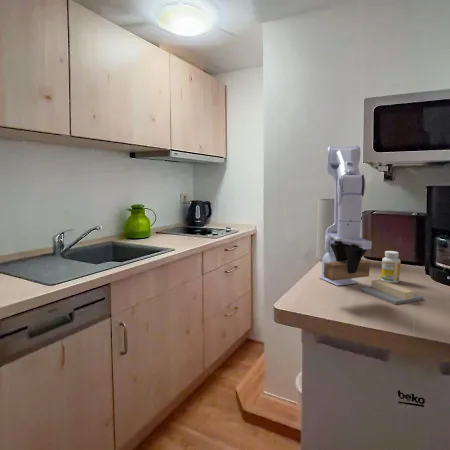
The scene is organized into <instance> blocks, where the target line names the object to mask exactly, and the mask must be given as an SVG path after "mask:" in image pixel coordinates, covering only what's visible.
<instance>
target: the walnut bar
mask: <svg viewBox="0 0 450 450" xmlns="http://www.w3.org/2000/svg"><path fill="white" fill-rule="evenodd" d="M370 262H371V261H368V260H366V259H365V260H364V259H362V258H361V260H360V262H359V265H358V268H357V271H356V273H348V262H347V261H337V262H326V263H324V277H325V278H327V279H329V280H332V281H335V280H343V279H352V280H353V279H359V278H366V277H367V278H368V277H370V266H371V265H370V264H371V263H370Z"/></svg>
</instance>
